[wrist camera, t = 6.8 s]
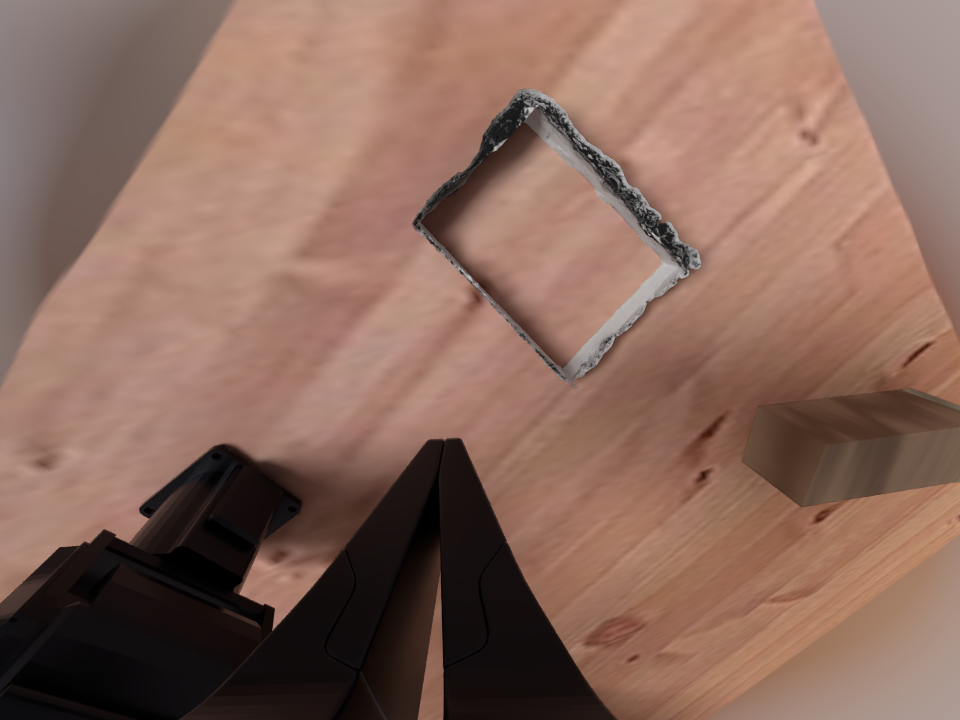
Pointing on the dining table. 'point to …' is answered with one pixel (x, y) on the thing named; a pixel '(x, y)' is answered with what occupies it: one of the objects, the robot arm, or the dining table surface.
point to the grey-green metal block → (855, 445)
